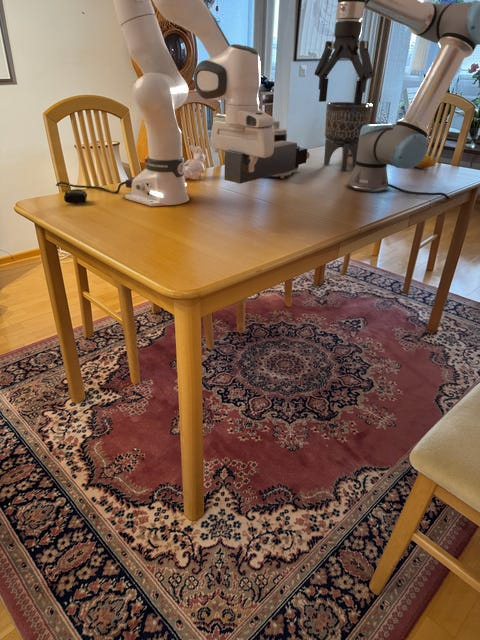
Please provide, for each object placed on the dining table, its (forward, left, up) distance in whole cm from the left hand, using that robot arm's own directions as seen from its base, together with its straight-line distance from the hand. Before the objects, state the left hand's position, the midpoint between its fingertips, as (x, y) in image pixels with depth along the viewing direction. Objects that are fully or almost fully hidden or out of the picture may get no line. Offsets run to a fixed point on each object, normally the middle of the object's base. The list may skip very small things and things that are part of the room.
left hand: (240, 169), depth 128 cm
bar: (+2, +10, -3) cm, 10 cm away
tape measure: (-56, -9, -16) cm, 59 cm away
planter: (+1, +98, -16) cm, 100 cm away
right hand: (+16, +35, +16) cm, 41 cm away
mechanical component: (-17, +70, -16) cm, 74 cm away
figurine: (-44, +41, -16) cm, 63 cm away
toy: (+33, +119, -16) cm, 125 cm away
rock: (0, +133, -16) cm, 134 cm away
